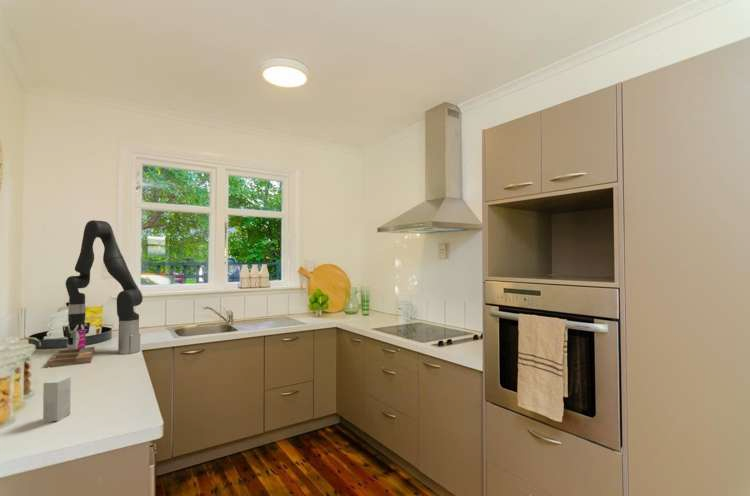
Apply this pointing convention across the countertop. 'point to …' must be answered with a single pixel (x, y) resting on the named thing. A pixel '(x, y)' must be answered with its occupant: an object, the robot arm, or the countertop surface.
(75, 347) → the supplement box
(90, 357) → the socket block
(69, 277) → the robot arm
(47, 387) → the skincare box
